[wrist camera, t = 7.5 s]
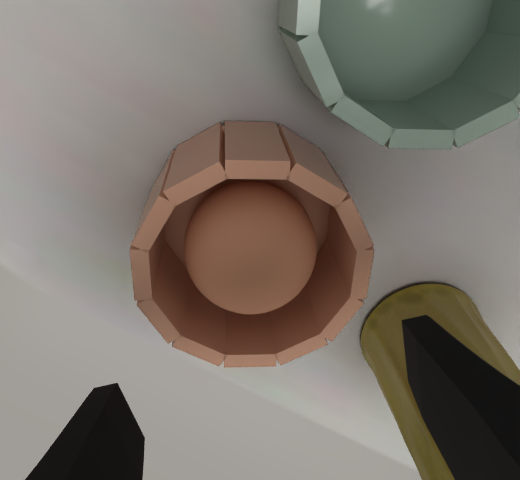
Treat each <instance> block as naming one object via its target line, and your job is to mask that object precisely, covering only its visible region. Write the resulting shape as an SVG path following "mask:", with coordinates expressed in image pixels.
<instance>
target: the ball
mask: <svg viewBox="0 0 520 480" xmlns="http://www.w3.org/2000/svg"><path fill="white" fill-rule="evenodd" d="M316 253H317V242H316V235H315V231H314V227H313V224H312V222H311V219H310V217H309V216H308V214H307V212H306V211H305V209H304V208H303V207H302V205H301V204H300V203H299V202H298V201H297V200H296V199H295V198H294V197H293V196H291V195H290V194H289V193H287V192H286V191H284V190H282V189H281V188H279V187H276V186H274V185H271V184H267V183H263V182H256V181H243V182H237V183H233V184H230V185H227V186H225V187H222V188H220V189H218V190H217V191H215V192H213V193H212V194H210V195H209V196H208V197H207V198H205V199H204V200H203V201H202V203H201V204H200V205H199V206H198V207H197V209H196V210H195V212H194V213H193V215H192V217H191V218H190V220H189V223H188V226H187V229H186V233H185V237H184V259H185V263H186V266H187V270H188V273H189V275H190V277H191V279H192V281H193V282H194V284H195V286H196V287H197V288H198V290H199V291H200V292H201V293H202V294H203V295H204V296H205V297H206V298H207V299H208V300H210V301H211V302H212V303H214V304H215V305H217V306H219V307H221V308H223V309H226V310H228V311H232V312H235V313H240V314H261V313H266V312H269V311H272V310H275V309H278V308H279V307H281V306H283V305H285V304H287V303H288V302H289V301H291V300H292V299H293V298H294V297H296V296H297V295H298V294H299V292H300V291H301V290H302V289H303V288H304V286H305V285H306V283H307V282H308V280H309V278H310V276H311V274H312V271H313V268H314V265H315V261H316Z"/></svg>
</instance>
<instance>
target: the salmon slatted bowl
mask: <svg viewBox="0 0 520 480" xmlns="http://www.w3.org/2000/svg"><path fill="white" fill-rule="evenodd" d="M243 181H256V182H263V183H267V184H271V185H274V186H276V187H279V188H281V189H282V190H284V191H286V192H287V193H289V194H290V195H291V196H293V197H294V198H295V199H296V200H297V201H298V202H299V203H300V204H301V205H302V207H303V208H304V209H305V211H306V212H307V214H308V216H309V217H310V219H311V222H312V224H313V227H314V231H315V235H316V242H317V253H316V261H315V265H314V268H313V271H312V274H311V276H310V278H309V280H308V282H307V283H306V285H305V286H304V288H303V289H302V290H301V291H300V292H299V294H298V295H297V296H296V297H294V298H293V299H292V300H291V301H289V302H288V303H287V304H285V305H283V306H281V307H279V308H278V309H275V310H272V311H269V312H266V313H261V314H240V313H235V312H232V311H228V310H226V309H223V308H221V307H219V306H217V305H215V304H214V303H212V302H211V301H210V300H208V299H207V298H206V297H205V296H204V295H203V294H202V293H201V292H200V291H199V290H198V288H197V287H196V286H195V284H194V282H193V281H192V279H191V277H190V275H189V273H188V270H187V266H186V263H185V259H184V237H185V233H186V229H187V226H188V223H189V220H190V218H191V217H192V215H193V213H194V212H195V210H196V209H197V207H198V206H199V205H200V204H201V203H202V201H203V200H204V199H205V198H207V197H208V196H209V195H210V194H212V193H213V192H215V191H217V190H218V189H220V188H222V187H225V186H227V185H230V184H233V183H237V182H243ZM372 246H374V245H373V243H372V240H371V238H370V236H369V234H368V232H367V230H366V228H365V226H364V223H363V221H362V219H361V217H360V215H359V213H358V211H357V209H356V206H355V204H354V202H353V200H352V198H351V196H350V195H349V193H348V191H347V190H346V188H345V187H344V185H343V183H342V182H341V180H340V179H339V177H338V175H337V174H336V172H335V171H334V169H333V168H332V166H331V164H330V163H329V161H328V160H327V158H326V156H325V155H324V153H323V152H322V151H321V150H320V148H318V147H316V146H315V145H313V144H312V143H310V142H308V141H307V140H305V139H304V138H302V137H300V136H299V135H297V134H296V133H294V132H292V131H291V130H289V129H288V128H286V127H284V126H283V125H281V124H280V123H279V125H278V126H276V123H275V122H254V121H225V124H223V125H221V123H220V122H219V123H217V124H215V125H214V126H212V127H210V128H208V129H206V130H205V131H203V132H201V133H199V134H197V135H196V136H194V137H192V138H190V139H188V140H186V141H185V142H183V143H181V144H179V145H177V147H176V150H174V149H173V151H172V153H171V155H170V156H169V158H168V160H167V162H166V164H165V165H164V167H163V169H162V171H161V172H160V174H159V176H158V178H157V180H156V181H155V183H154V185H153V187H152V189H151V191H150V194H149V197H148V199H147V202H146V205H145V207H144V210H143V213H142V216H141V218H140V221H139V224H138V227H137V229H136V232H135V235H134V237H133V240H132V243H131V248H130V257H131V267H132V278H133V288H134V298H135V300H138V301H137V306H138V307H139V308H140V310H141V311H142V312H143V313H144V315H145V316H146V317H147V318H148V320H149V321H150V322H151V323H152V324H153V326H154V327H155V328H156V329H157V331H158V332H159V333H160V334H161V336H162V337H163V338H164V339H165V340H166V342H167V343H170V342H172V341H173V342H172V347H174V348H177V349H179V350H182V351H184V352H186V353H189V354H191V355H193V356H196V357H198V358H200V359H203V360H205V361H207V362H210V363H212V364H215V365H217V366H220V364H221V363H222V362H223V360H224V367H270V366H276V359H277V360H278V362H279V363H280V365H283V364H285V363H287V362H289V361H292V360H294V359H296V358H298V357H301V356H303V355H305V354H307V353H309V352H312V351H314V350H316V349H318V348H321V347H323V346H325V345H327V344H328V343H327V340H326V339H328V340H330V341H333V339H334V338H335V337H336V336H337V335H338V333H339V332H340V331H341V330H342V329H343V328H344V326H345V325H346V324H347V323H348V322H349V320H350V319H351V318H352V317H353V316H354V315H355V313H356V312H357V311H358V310H359V309H360V307H361V306H362V305H363V304H364V302H363V300H362V299H366V297H367V291H368V285H369V279H370V274H371V268H372V262H373V256H374V249H373V247H372Z"/></svg>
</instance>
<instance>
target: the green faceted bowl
mask: <svg viewBox="0 0 520 480" xmlns="http://www.w3.org/2000/svg"><path fill="white" fill-rule="evenodd" d="M277 24H278V25H280V26H281V29H279V32H280V34H281V36H282V38H283V41H284V43H285V45H286V47H287V49H288V51H289V54H290V56H291V58H292V60H293V62H294V64H295V66H296V69H297V71H298V73H299V75H300V77H301V79H302V81H303V82H304V83H305V84H306V85H307V86H308V88H309V89H310V90H311V91H312V92H313V93H314V94H315V95H316V96H317V98H318V99H319V100H320V101H321V102H322V103H323V104H324V105H325V106H326V107H327V109H328V110H329V111H330V112H331V113H333V114H334V115H336V116H337V117H339V118H340V119H342V120H343V121H345V122H346V123H348V124H349V125H351V126H353V127H354V128H356V129H357V130H359V131H360V132H362V133H363V134H365V135H366V136H368V137H369V138H371V139H372V140H374V141H375V142H377V143H378V144H380V145H381V146H384V145H386V146H387V147H388V148H402V149H452V145H454V146H455V147H457V148H459V147H461V146H463V145H465V144H467V143H469V142H471V141H473V140H475V139H477V138H479V137H481V136H483V135H485V134H487V133H489V132H491V131H493V130H495V129H497V128H499V127H501V126H503V125H505V124H507V123H509V122H511V121H513V120H515V119H517V118H519V117H520V115H519V111H518V110H520V0H279V3H278V22H277Z"/></svg>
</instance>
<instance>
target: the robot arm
mask: <svg viewBox="0 0 520 480" xmlns="http://www.w3.org/2000/svg"><path fill="white" fill-rule="evenodd" d="M401 321H402V330H403V339H404V349H405V358H406V368H407V377H408V383H409V385H410V388H411V390H412V393H413V396H414V398H415V401H416V403H417V406H418V408H419V411H420V413H421V416H422V418H423V420H424V422H425V424H426V426H427V428H428V430H429V432H430V434H431V436H432V438H433V440H434V441H435V443H436V445H437V447H438V449H439V451H440V453H441V455H442V456H443V458H444V460H445V462H446V464H447V466H448V468H449V470H450V471H451V473H452V475H453V477H454V479H455V480H520V385H518V384H517V383H515V382H514V381H512V380H511V379H510V378H508V377H507V376H505V375H504V374H502V373H501V372H500V371H498V370H497V369H496V368H494V367H493V366H491V365H490V364H489V363H487V362H486V361H485V360H483V359H482V358H481V357H479V356H478V355H477V354H475V353H474V352H473V351H471V350H470V349H469V348H467V347H466V346H465V345H464V344H462V343H461V342H460V341H459V340H457V339H456V338H455V337H454V336H452V335H451V334H450V333H449V332H448V331H446V330H445V329H444V328H443V327H442V326H440V325H439V324H438V323H437V322H436V321H434V320H433V319H432V318H431V317H429V316H428V315H422V316H418V317H413V318H409V319H404V320H401ZM144 441H145V438H144V436H143V434H142V432H141V430H140V428H139V426H138V423H137V421H136V419H135V418H134V415H133V413H132V412H131V409H130V407H129V405H128V404H127V401H126V400H125V397H124V396H123V393H122V391H121V389H120V388H119V385H118V383H115V384H110V385H106V386H101V387H97V388H94V389H93V390H92V392H91V393H90V394H89V395H88V397H87V398H86V399H85V401H84V402H83V403H82V405H81V406H80V407H79V409H78V410H77V412H76V413H75V414H74V416H73V417H72V418H71V420H70V421H69V423H68V424H67V425H66V427H65V428H64V429H63V431H62V432H61V434H60V435H59V436H58V438H57V439H56V440H55V442H54V443H53V444H52V446H51V447H50V449H49V450H48V451H47V452H46V454H45V455H44V456H43V458H42V459H41V460H40V462H39V463H38V464H37V466H36V467H35V468H34V469H33V470H32V472H31V473H30V474H29V476H28V477H27V478H26V479H25V480H142V476H143V462H144Z"/></svg>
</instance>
